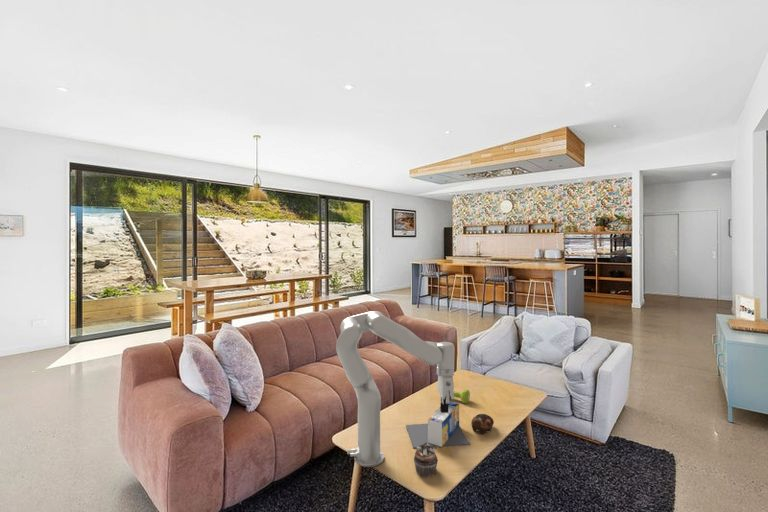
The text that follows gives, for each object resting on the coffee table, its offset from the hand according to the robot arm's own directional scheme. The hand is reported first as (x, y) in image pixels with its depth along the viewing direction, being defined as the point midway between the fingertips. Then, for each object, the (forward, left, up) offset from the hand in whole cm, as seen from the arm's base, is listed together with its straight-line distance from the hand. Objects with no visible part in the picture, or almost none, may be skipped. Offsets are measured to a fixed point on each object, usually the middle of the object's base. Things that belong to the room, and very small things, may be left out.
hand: (444, 411), depth 165 cm
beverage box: (-4, +3, -11) cm, 12 cm away
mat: (0, +12, -17) cm, 21 cm away
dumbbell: (+20, +48, -17) cm, 55 cm away
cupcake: (-11, -14, -17) cm, 25 cm away
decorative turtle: (+23, +13, -17) cm, 31 cm away
